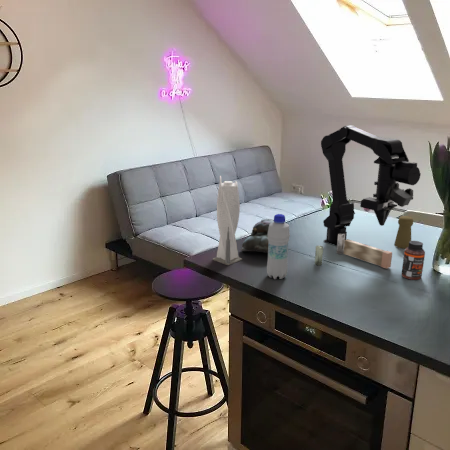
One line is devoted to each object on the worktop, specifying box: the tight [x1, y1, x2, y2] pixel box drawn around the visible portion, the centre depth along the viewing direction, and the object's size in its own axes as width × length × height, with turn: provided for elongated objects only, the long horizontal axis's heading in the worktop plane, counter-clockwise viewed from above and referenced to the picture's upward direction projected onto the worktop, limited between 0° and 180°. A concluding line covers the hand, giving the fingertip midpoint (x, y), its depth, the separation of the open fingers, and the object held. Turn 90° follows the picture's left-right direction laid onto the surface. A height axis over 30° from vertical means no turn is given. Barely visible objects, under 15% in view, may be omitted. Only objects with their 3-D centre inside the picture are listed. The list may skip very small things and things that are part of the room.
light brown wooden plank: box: [343, 238, 393, 270], centre depth 168 cm, size 17×2×5 cm, turn 41°
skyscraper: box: [212, 175, 243, 266], centre depth 166 cm, size 8×8×28 cm
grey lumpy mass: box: [239, 218, 274, 254], centre depth 176 cm, size 15×12×14 cm
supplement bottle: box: [401, 240, 426, 281], centre depth 155 cm, size 6×6×11 cm
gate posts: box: [314, 233, 345, 266], centre depth 170 cm, size 2×16×7 cm, turn 138°
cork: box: [393, 215, 414, 250], centre depth 183 cm, size 6×6×11 cm
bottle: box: [266, 213, 291, 280], centre depth 153 cm, size 7×7×20 cm
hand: (381, 225), depth 167 cm, fingers closed
